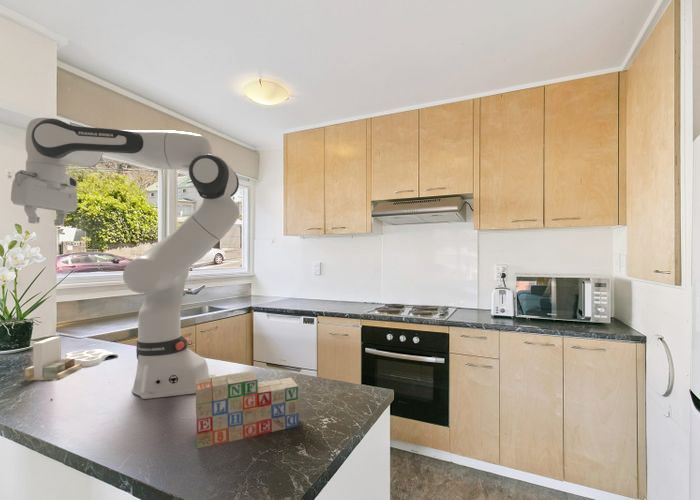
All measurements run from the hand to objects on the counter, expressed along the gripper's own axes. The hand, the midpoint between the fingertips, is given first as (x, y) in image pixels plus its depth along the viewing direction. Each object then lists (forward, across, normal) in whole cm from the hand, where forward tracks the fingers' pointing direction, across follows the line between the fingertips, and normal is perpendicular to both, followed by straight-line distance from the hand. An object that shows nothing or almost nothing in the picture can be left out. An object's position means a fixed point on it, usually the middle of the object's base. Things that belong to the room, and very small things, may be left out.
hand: (47, 224), depth 101 cm
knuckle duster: (+49, +27, +6) cm, 56 cm away
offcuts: (+47, +12, +5) cm, 49 cm away
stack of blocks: (+48, -29, -62) cm, 84 cm away
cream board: (+47, +12, +9) cm, 49 cm away
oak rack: (+48, +12, +7) cm, 50 cm away
